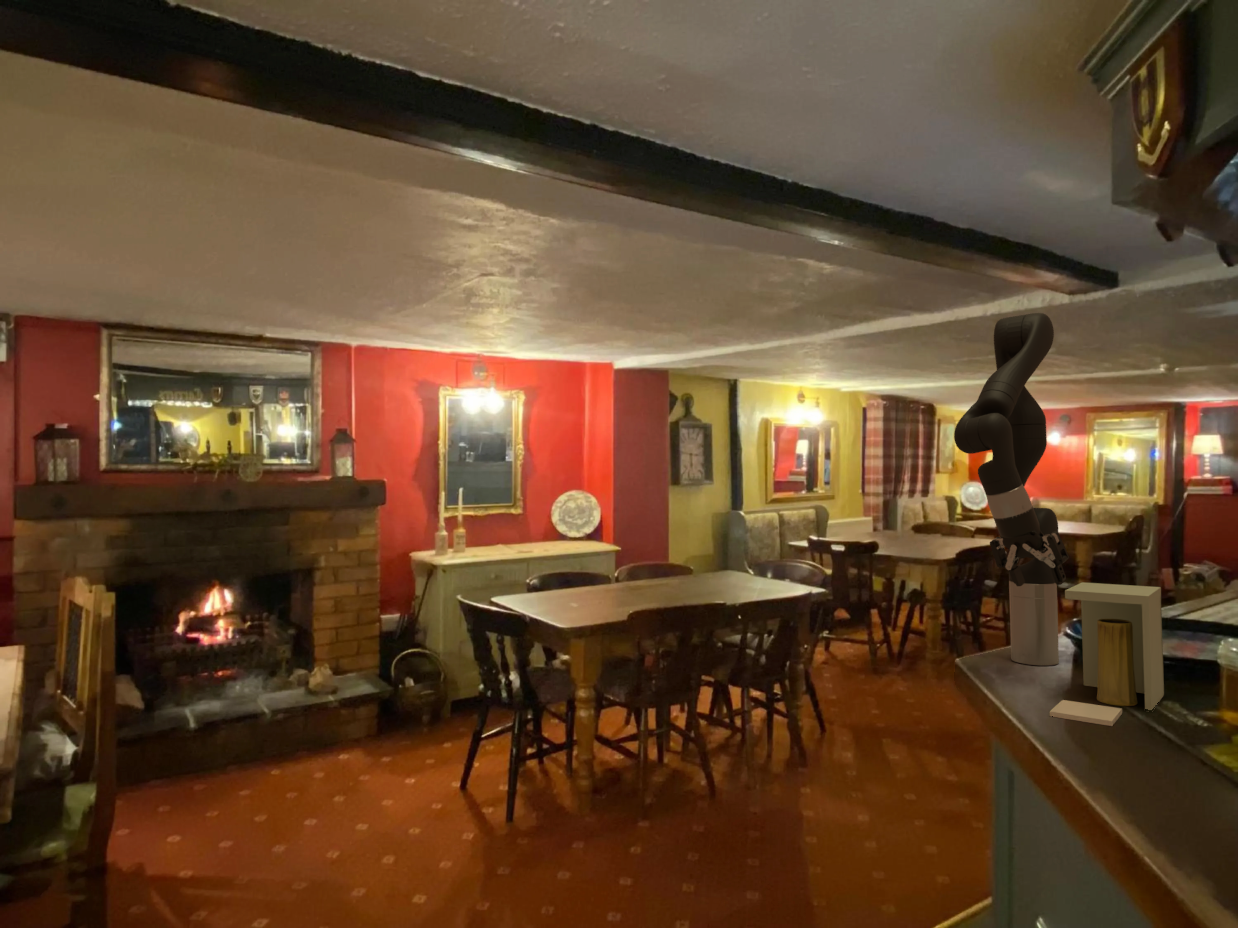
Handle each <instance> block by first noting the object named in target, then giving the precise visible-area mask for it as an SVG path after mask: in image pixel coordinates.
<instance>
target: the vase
mask: <svg viewBox="0 0 1238 928" xmlns="http://www.w3.org/2000/svg"><path fill="white" fill-rule="evenodd" d="M1097 627H1098V683H1097V687H1096V688H1097V695H1096V700H1097V701H1098V702H1100V703H1102V704H1105V705H1111V706H1116V707H1117V706H1118V707H1132V706H1136V705H1137V704H1138V698H1137V697H1138V696H1137V692H1136V685H1135V675H1134V661H1133V626H1132V622H1131V621H1128V620H1122V619H1099V620H1097Z"/></svg>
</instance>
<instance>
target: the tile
mask: <svg viewBox="0 0 1238 928" xmlns="http://www.w3.org/2000/svg"><path fill="white" fill-rule="evenodd" d="M1122 714H1123V708H1120V707H1113V706H1107V705H1098V704H1095V703H1094V704H1093V703H1087V702H1079V701H1073V700H1066V699H1065V700H1064V699H1062V700H1060V701H1059V703H1057V704H1056V705H1055V706H1054V707H1053V708H1052V709H1051V710H1050V711H1049V717H1052V716H1053V718H1059V719H1065V720H1071V721H1077V722H1083V723H1090V724H1096V725H1102V726H1109V727H1113V725H1115V723H1116V722H1117V721H1118V719H1120V717H1121V715H1122Z"/></svg>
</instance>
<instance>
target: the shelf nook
mask: <svg viewBox="0 0 1238 928" xmlns="http://www.w3.org/2000/svg"><path fill="white" fill-rule="evenodd" d="M1064 599H1065V600H1076V601H1080V602H1081V603H1080V604H1081V637H1082V642H1081V643H1082V645H1081V646H1082V671H1083V672H1082V674H1083V686H1086V687H1092V688H1093V687H1094V688H1098V687H1097V683H1098V627H1097V620H1099V619H1122V620H1128V621H1131V622H1132V626H1133V661H1134V675H1135V685H1136V694H1137V693H1139V694H1144V710H1145V709H1148V710H1152V709H1153V708H1154V707H1155V705H1157V706H1158V704H1159V703H1160V701H1161V700H1162V698H1163V697H1164V696H1165V684H1164V680H1165V679H1164V648H1163V647H1164V646H1163V645H1164V643H1163V623H1162V622H1163V618H1162V617H1163V616H1162V614H1163V613H1162V587H1161V586H1149V585H1148V586H1146V585H1129V584H1117V583H1116V584H1114V583H1113V584H1112V583H1097V582H1083V581H1081V582H1080V583H1078V584H1076V585H1073V586H1072V587H1069V588H1068V589H1065V590H1064ZM1158 702H1159V703H1158ZM1157 703H1158V704H1157ZM1155 708H1156V707H1155ZM1155 708H1154V709H1155Z"/></svg>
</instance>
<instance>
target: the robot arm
mask: <svg viewBox="0 0 1238 928" xmlns="http://www.w3.org/2000/svg"><path fill="white" fill-rule="evenodd" d="M1054 337H1055V332H1054V325H1053V323H1052V320H1051V318H1050V317H1049V316H1048V315H1047V314H1045V313H1041V312H1038V313H1037V312H1035V313H1028V314H1020V315H1014V316H1009V317H1003V318H1000V319H999V320H997V322H996V324H995V326H994V329H993V348H994V356H995V358H994V359H995V366H996V367H995V368H996V370H995V371H993V373H992V374H991V375H990V376H989V377H988V379H987V380H986V382H985V384H984V385H983V387H982V389H981V391H980V393H979V396H978V398H977V400H976V401H975V402H974V403H973V404H972V405H971V406H970V407H969V409H968V410H967V411H966V412H965V413H964V414H963V415H962V416H961V417H960V419H959V420H958V422H957V424H956V425H955V428H954V432H953V439H954V443H955V446H956V447H957V449H959V450H960V452H962V453H965V454H978V453H982V452H987V451H992V459H990V460H988V461H986V462H984V463H982V464H981V465H979V467H978V468H977V475H978V478H979V481H980V484H981V486H982V487H983V488H982V489H983V491H984V494H985V496H986V500H987V504H988V507H989V510H990V514H991V515H992V518H993V520H994V523H995V526H996V528H997V531H998V534H999V536H997V537H995V538H993V539H991V541H989V545H990V548H991V552H992V555H993V558H994V560H995V561H994V562H995V565H996V566H997V568H999V569H1001V568H1004V569H1005V570H1007V571H1008V589H1009V592H1008V594H1009V595H1008V596H1009V622H1010V624H1009V626H1010V629H1009V630H1010V657H1011V658H1010V659H1011V661H1013V662H1015V663H1018V664H1019V663H1020V664H1024V665H1029V666H1030V665H1032V666H1054V665H1058V664H1059V663H1060V661H1059V660H1060V658H1059V657H1060V656H1059V655H1060V654H1059V617H1058V611H1059V610H1058V587H1057V586H1058V585H1059V586H1061V585H1063V584H1064V583H1065V581H1066V579H1067V576H1066V573H1065V571H1064V568H1063V564H1064V563H1065V562H1067V561H1068V560H1069V558H1070V555H1069V553H1068V551H1067V549H1066V546H1065V545H1064V542H1063V540H1062V537H1061V536H1060V533H1059V522H1058V517H1057V515H1056V513H1055V512H1054V511H1053V510H1052V508H1047V507H1034V505H1033V503H1032V502H1031V499H1030V495H1029V494H1028V492H1027V490H1026V488H1025V486H1026V483H1027V481H1028V479H1029V478H1030V477H1031V474H1032V473H1033V471H1034V470H1035V469H1036V467H1037V465H1038V464H1039V462H1040V461H1041V459H1042V457H1043V455H1044V454H1045V451H1046V448H1047V446H1048V445H1047V443H1048V441H1047V438H1048V437H1047V419H1046V415H1045V412H1044V410H1043V409H1042V408H1041V406H1040V404H1039V402H1037V400H1036V399H1035V398H1034V397H1033V395H1032V394H1031V392H1030V391H1029V390H1028V389H1027V387H1026V386H1025V385H1026V384H1027V382H1028V381H1029V379H1030V378H1031V376H1032V375H1033V374H1034V373H1035V371H1036V370H1037V369H1038V368H1039V366H1040V365H1041V363H1042V362H1043V361H1044V359H1045V357H1046V356H1047V355H1048V353H1049V351H1050V350H1051V348H1052V345H1053V343H1054ZM1005 548H1007V550H1008V551H1009V552H1008V555H1007V552H1006V549H1005ZM1026 558H1031V560H1029V561H1027V562H1025V563H1022V564H1018V563H1019V560H1020V559H1026Z"/></svg>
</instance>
